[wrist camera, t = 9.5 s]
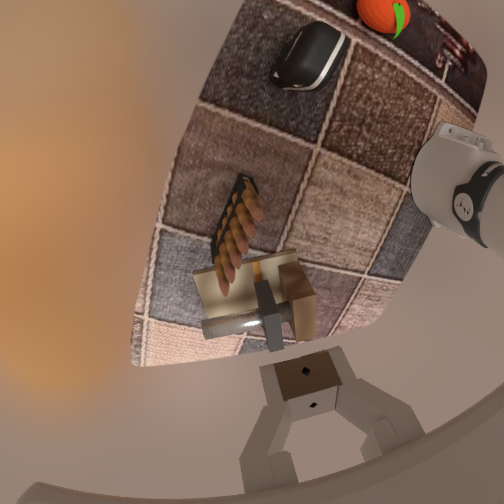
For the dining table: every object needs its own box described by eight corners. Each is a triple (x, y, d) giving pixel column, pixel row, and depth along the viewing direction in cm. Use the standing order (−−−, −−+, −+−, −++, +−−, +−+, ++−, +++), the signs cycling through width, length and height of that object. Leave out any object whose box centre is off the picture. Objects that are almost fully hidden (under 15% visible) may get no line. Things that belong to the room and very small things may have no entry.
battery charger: (284, 34, 27) (320, 10, 17) (312, 49, 28) (356, 33, 19) (259, 80, 30) (285, 72, 20) (287, 93, 31) (324, 93, 21)
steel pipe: (296, 292, 40) (303, 307, 37) (297, 309, 42) (304, 323, 39) (200, 314, 39) (201, 330, 37) (206, 329, 41) (207, 345, 38)
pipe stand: (294, 248, 42) (315, 285, 34) (299, 304, 48) (316, 343, 40) (193, 271, 41) (192, 313, 34) (211, 324, 47) (215, 367, 39)
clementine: (394, 45, 29) (427, 42, 22) (352, 40, 28) (381, 33, 22) (386, -3, 24) (416, -13, 18) (343, -11, 24) (370, -26, 18)
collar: (267, 279, 40) (279, 312, 34) (273, 315, 44) (284, 348, 38) (253, 282, 40) (263, 316, 34) (260, 318, 44) (269, 352, 38)
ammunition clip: (222, 248, 40) (231, 305, 30) (210, 245, 40) (214, 301, 30) (252, 178, 36) (274, 214, 26) (239, 173, 35) (255, 207, 25)
